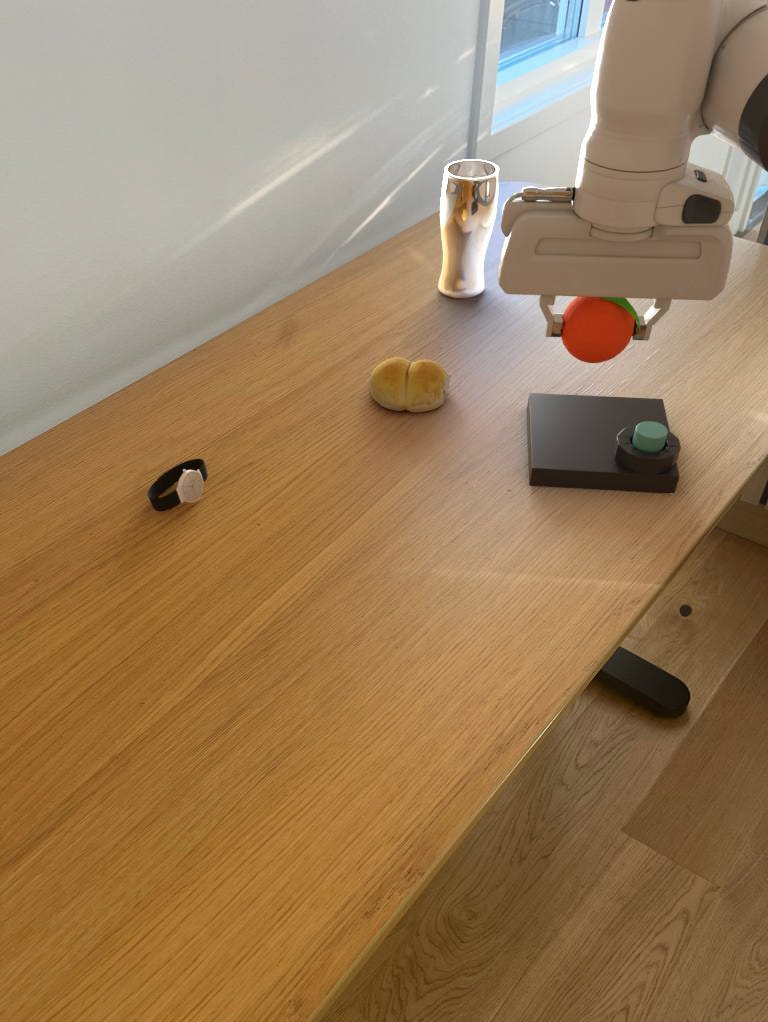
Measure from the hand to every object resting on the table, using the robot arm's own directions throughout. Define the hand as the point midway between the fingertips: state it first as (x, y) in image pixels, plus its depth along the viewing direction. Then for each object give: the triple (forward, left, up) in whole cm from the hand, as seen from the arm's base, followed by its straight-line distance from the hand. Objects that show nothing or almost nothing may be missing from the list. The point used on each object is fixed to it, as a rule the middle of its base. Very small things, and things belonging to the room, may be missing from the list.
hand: (596, 336), depth 92 cm
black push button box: (-2, +2, -12) cm, 12 cm away
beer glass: (+13, -34, -12) cm, 38 cm away
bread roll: (+18, -7, -12) cm, 23 cm away
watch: (+40, +14, -12) cm, 44 cm away
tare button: (-6, +6, -8) cm, 12 cm away
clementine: (0, 0, -3) cm, 3 cm away
